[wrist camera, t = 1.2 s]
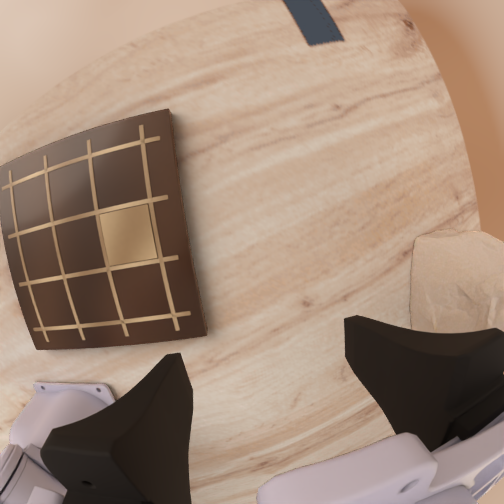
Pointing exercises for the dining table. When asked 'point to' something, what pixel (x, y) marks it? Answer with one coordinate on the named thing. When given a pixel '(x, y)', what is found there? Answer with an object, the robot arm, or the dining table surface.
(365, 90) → the dining table surface
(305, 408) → the dining table surface
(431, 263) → the stone
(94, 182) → the board
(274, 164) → the dining table surface
